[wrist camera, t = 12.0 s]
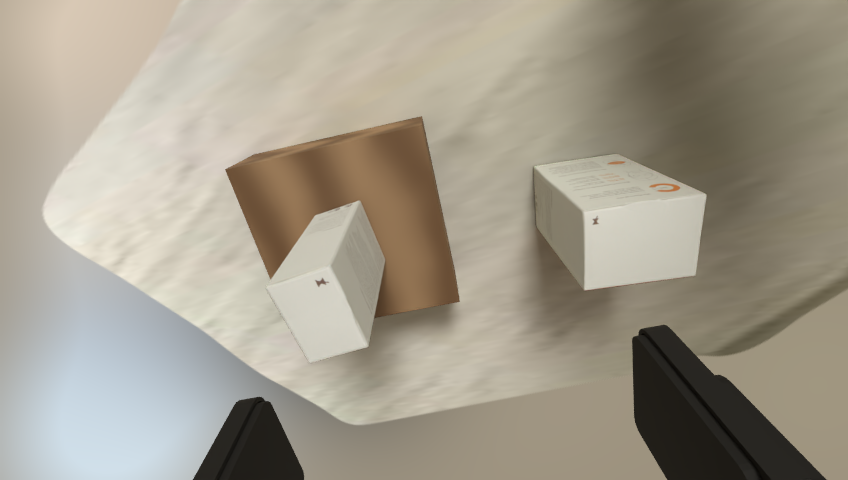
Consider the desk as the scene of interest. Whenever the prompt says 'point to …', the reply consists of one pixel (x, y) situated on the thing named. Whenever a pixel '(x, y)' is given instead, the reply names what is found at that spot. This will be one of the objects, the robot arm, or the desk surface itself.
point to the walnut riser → (349, 182)
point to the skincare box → (331, 283)
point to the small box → (618, 221)
